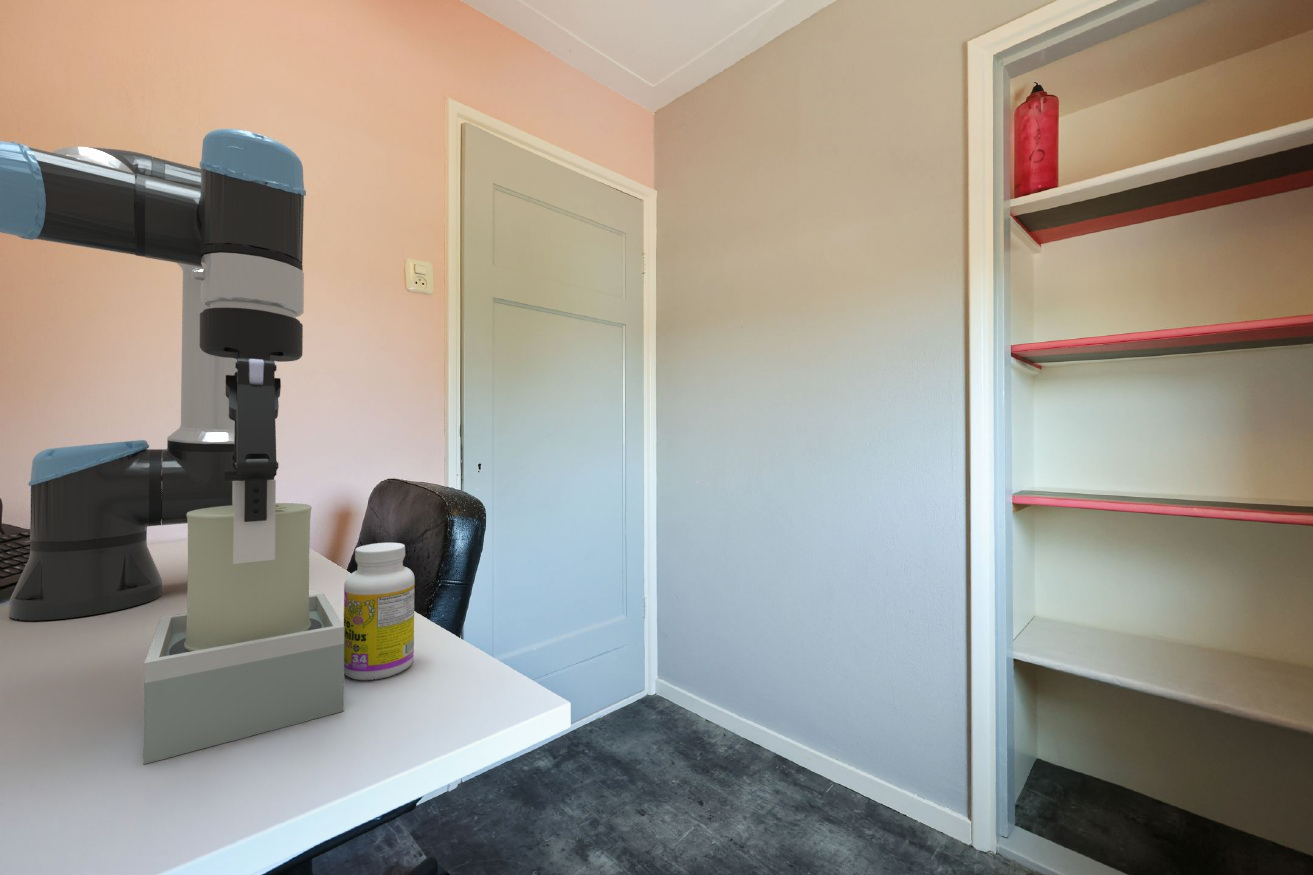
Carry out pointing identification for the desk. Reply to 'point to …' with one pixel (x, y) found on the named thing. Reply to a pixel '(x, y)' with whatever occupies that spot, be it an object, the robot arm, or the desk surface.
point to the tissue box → (239, 684)
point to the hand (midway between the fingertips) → (251, 547)
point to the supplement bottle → (378, 613)
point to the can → (246, 580)
